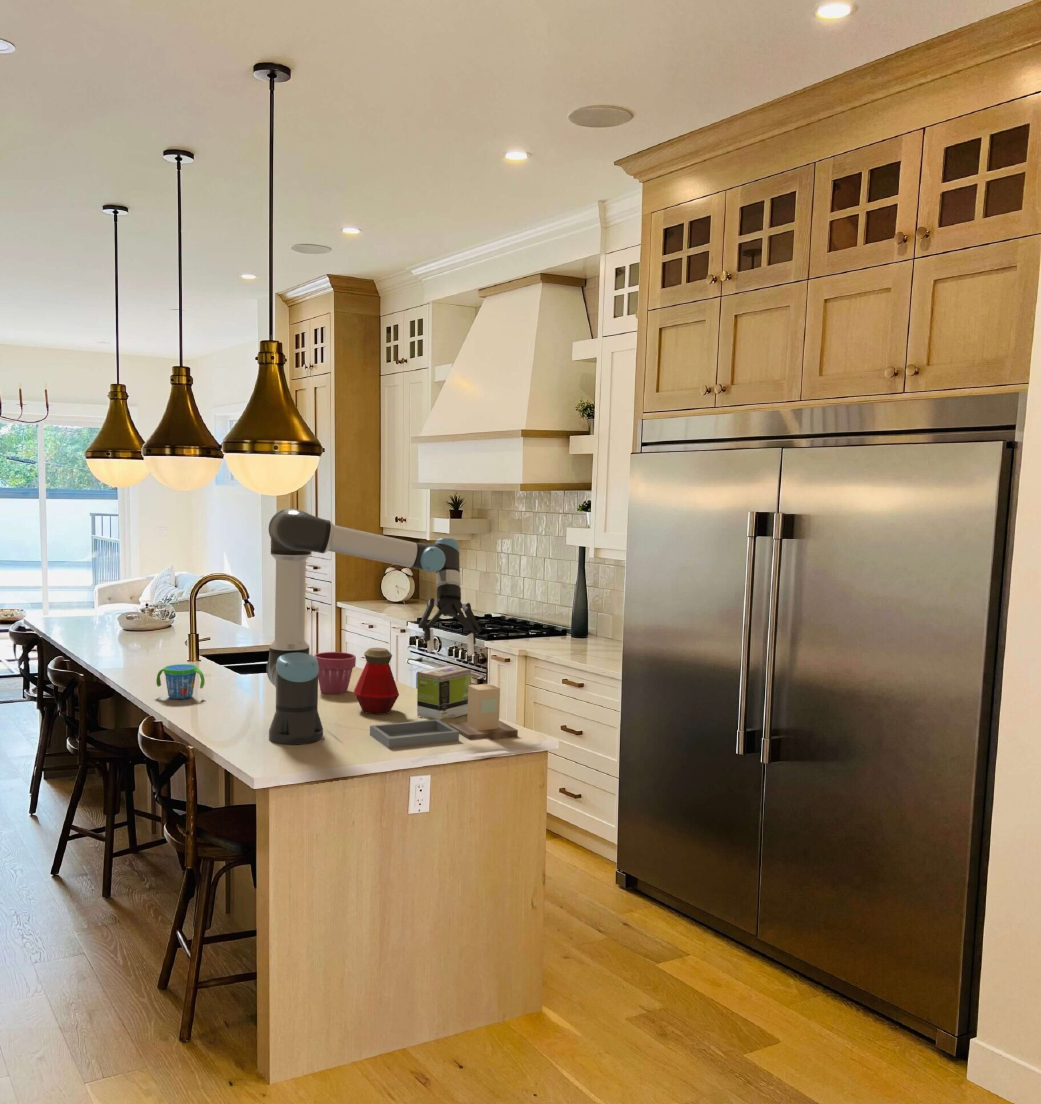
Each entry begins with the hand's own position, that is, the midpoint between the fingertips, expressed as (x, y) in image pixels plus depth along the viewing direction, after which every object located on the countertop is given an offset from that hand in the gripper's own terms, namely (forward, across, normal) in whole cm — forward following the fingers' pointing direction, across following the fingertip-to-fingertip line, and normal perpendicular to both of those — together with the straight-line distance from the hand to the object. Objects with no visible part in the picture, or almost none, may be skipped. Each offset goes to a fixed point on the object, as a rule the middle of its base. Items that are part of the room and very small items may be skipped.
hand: (451, 653), depth 291 cm
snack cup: (+1, +63, -74) cm, 97 cm away
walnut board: (+24, -9, 0) cm, 26 cm away
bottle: (+11, +10, -35) cm, 38 cm away
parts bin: (+27, +12, -1) cm, 29 cm away
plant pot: (-2, +14, -63) cm, 64 cm away
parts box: (+22, -9, +1) cm, 24 cm away
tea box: (+14, -8, -22) cm, 27 cm away
